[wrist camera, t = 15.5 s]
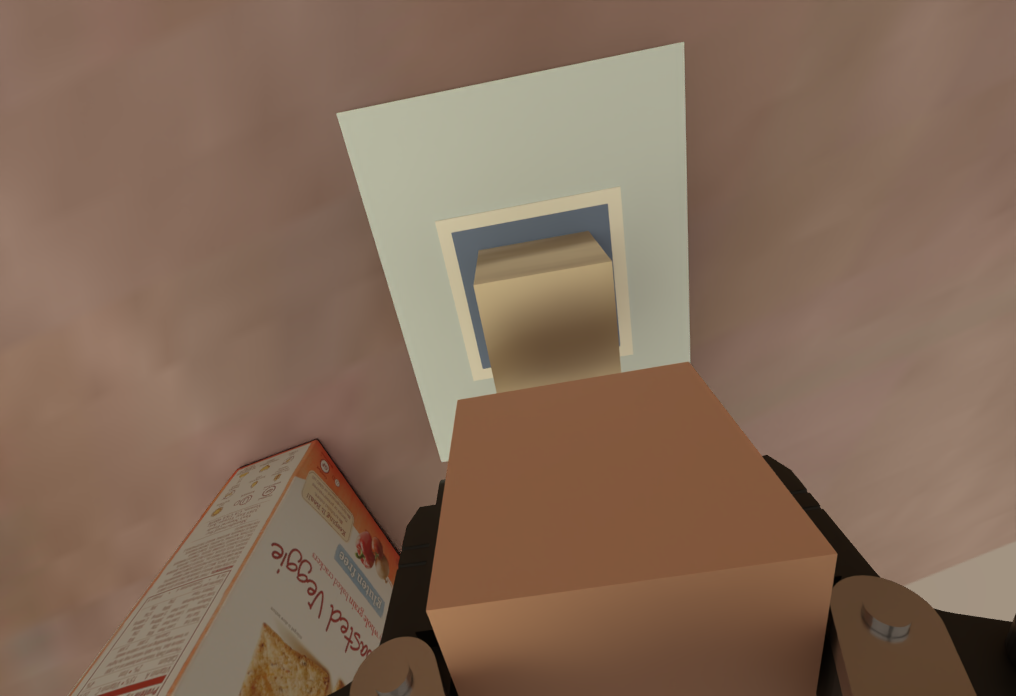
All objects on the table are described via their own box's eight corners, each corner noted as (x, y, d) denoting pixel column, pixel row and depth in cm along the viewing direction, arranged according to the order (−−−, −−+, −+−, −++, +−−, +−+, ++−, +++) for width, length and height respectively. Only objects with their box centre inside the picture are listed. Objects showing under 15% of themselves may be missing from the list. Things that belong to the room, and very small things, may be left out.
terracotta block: (457, 399, 11) (426, 610, 6) (688, 361, 10) (837, 553, 6) (500, 560, 13) (500, 805, 8) (692, 532, 12) (803, 771, 8)
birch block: (478, 250, 22) (473, 285, 17) (588, 231, 22) (612, 260, 17) (498, 348, 24) (498, 401, 20) (598, 331, 24) (622, 382, 19)
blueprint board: (344, 113, 21) (334, 113, 19) (674, 45, 20) (685, 41, 19) (443, 448, 28) (441, 464, 27) (683, 410, 28) (692, 425, 26)
